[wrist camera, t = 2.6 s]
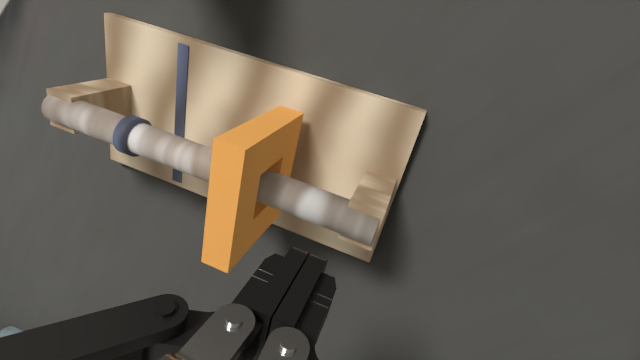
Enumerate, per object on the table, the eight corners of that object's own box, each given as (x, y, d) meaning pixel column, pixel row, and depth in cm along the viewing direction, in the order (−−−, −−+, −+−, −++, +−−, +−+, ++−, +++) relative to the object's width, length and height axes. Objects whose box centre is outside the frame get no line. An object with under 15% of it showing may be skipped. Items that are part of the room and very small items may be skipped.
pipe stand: (426, 110, 26) (418, 142, 20) (371, 256, 33) (350, 319, 26) (113, 13, 32) (18, 10, 25) (118, 155, 38) (44, 186, 31)
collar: (303, 113, 27) (245, 150, 20) (282, 210, 32) (227, 273, 24) (280, 105, 28) (213, 138, 20) (262, 202, 32) (201, 261, 24)
